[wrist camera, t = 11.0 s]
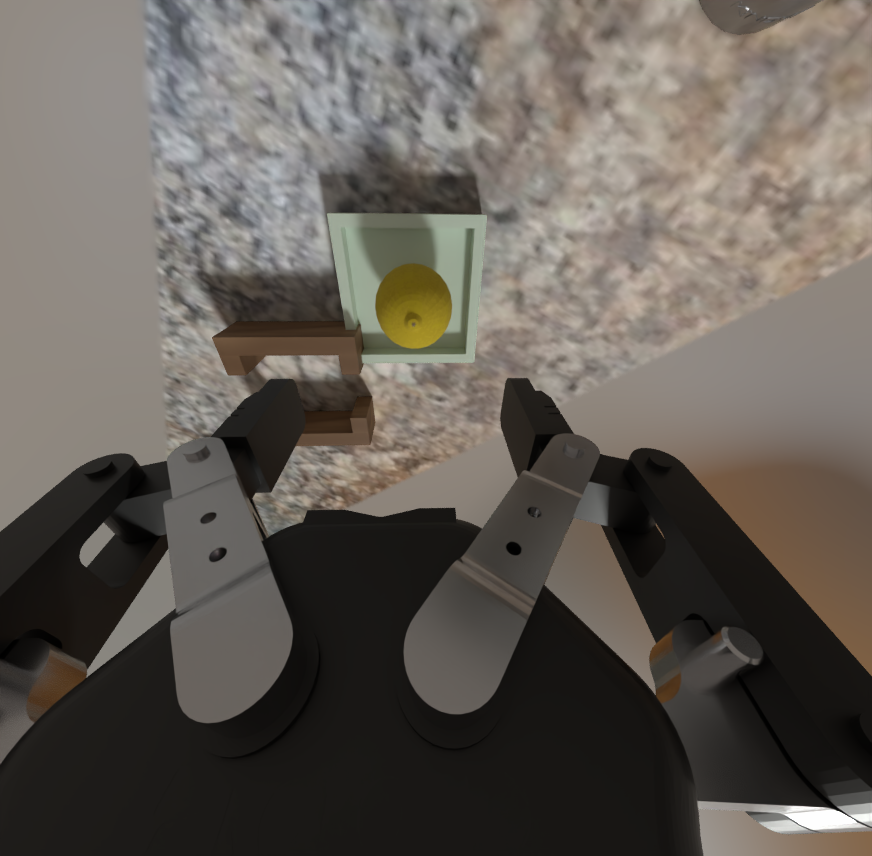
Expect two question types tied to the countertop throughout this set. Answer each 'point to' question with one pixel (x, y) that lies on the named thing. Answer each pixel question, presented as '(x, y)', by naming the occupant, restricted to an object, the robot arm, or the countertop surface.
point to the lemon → (413, 306)
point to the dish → (404, 244)
